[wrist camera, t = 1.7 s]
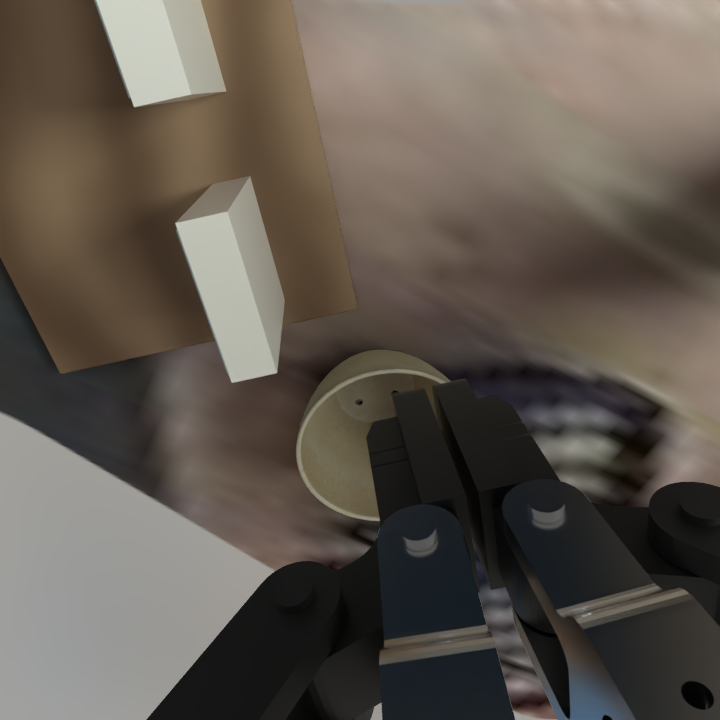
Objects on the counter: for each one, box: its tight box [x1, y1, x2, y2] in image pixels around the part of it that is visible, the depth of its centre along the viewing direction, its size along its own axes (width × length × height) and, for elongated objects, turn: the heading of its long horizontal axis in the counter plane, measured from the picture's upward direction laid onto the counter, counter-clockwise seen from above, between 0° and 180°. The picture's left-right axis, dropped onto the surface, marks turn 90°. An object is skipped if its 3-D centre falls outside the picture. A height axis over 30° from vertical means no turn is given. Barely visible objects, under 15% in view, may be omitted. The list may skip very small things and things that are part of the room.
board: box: [0, 0, 358, 374], centre depth 28 cm, size 18×21×1 cm
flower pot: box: [296, 350, 451, 521], centre depth 33 cm, size 10×10×7 cm
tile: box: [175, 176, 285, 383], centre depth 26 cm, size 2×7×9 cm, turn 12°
